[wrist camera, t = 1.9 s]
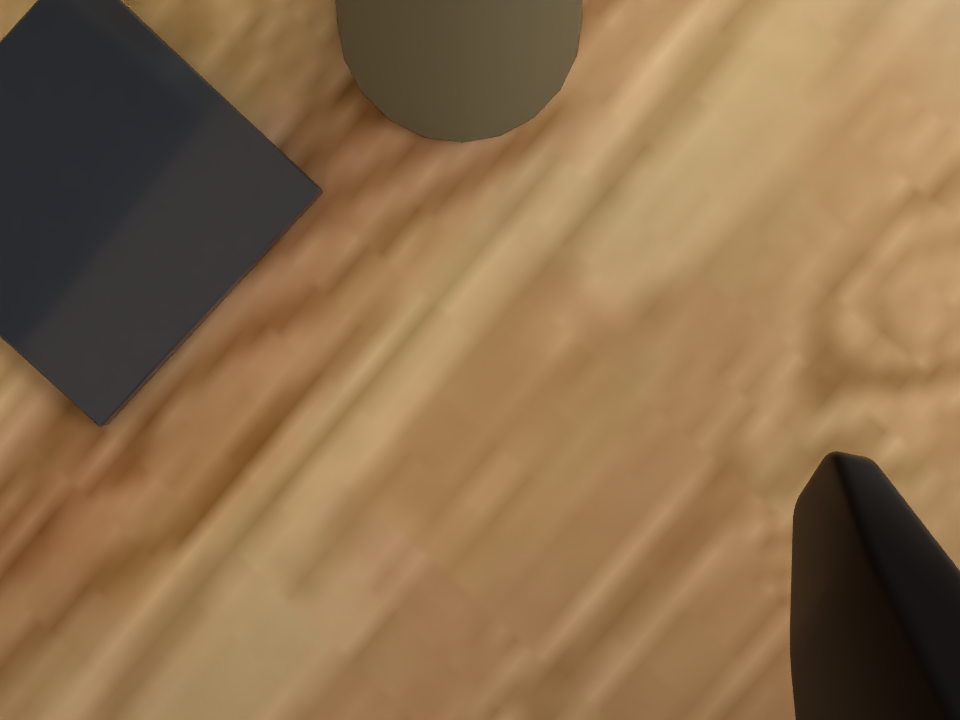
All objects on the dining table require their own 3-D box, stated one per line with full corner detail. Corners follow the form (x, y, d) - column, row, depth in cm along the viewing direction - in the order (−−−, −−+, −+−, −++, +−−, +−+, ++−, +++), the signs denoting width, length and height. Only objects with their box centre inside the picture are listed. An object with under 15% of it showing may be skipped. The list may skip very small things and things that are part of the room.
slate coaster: (107, 425, 22) (99, 427, 22) (-133, 205, 22) (-147, 202, 21) (324, 191, 22) (320, 188, 21) (83, -35, 22) (74, -43, 21)
